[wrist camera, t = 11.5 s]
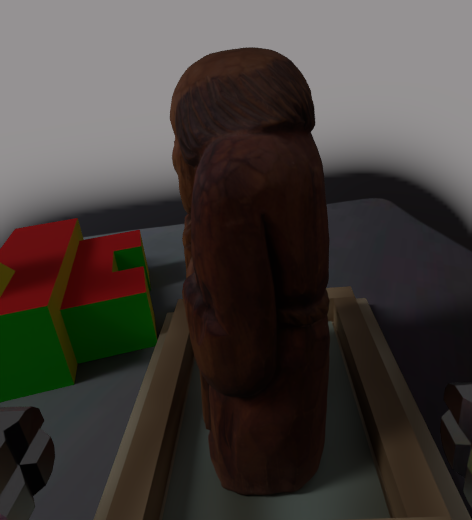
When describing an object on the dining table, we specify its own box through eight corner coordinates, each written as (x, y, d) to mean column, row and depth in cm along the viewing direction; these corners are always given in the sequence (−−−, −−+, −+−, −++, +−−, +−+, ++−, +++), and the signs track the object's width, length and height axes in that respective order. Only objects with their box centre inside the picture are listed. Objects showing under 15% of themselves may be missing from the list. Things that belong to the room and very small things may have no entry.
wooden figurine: (216, 349, 29) (170, 62, 21) (309, 341, 28) (295, 46, 21) (200, 515, 18) (98, 55, 11) (349, 506, 18) (350, 24, 10)
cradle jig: (53, 663, 15) (28, 619, 14) (169, 320, 35) (163, 291, 34) (528, 662, 13) (546, 613, 12) (365, 306, 33) (366, 275, 32)
